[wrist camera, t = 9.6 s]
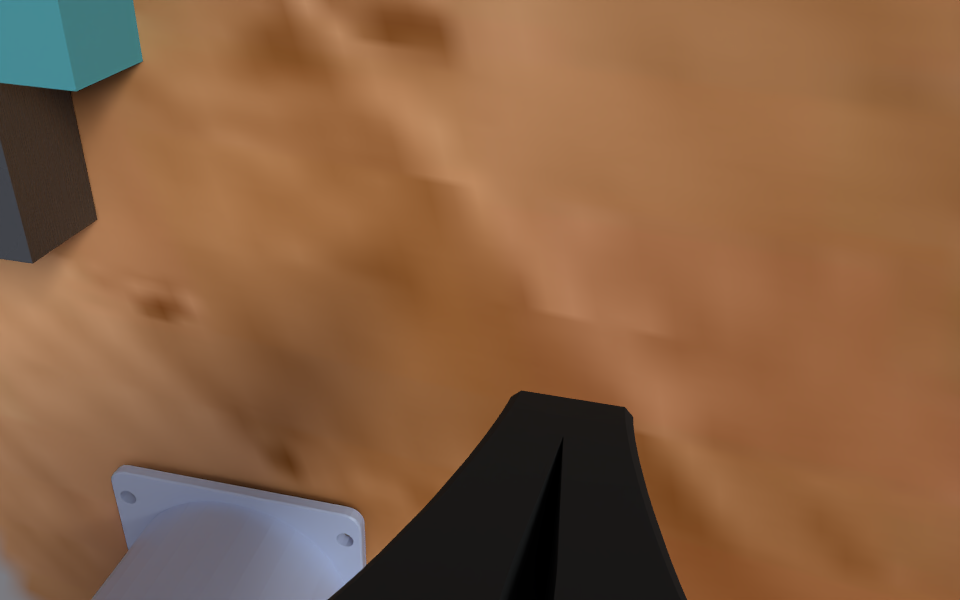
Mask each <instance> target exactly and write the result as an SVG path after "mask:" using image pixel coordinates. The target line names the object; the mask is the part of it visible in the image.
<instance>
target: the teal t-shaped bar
mask: <svg viewBox="0 0 960 600" xmlns="http://www.w3.org/2000/svg"><path fill="white" fill-rule="evenodd" d="M142 61H143V60H142V53H141V47H140V41H139V35H138V29H137V23H136V17H135V11H134V5H133V0H0V83H6V84H15V85H24V86H33V87H42V88H51V89H60V90H68V91H78V90H81V89H83V88H85V87H87V86H89V85H92V84H94V83H96V82H98V81H100V80H103V79H105V78H107V77H109V76H111V75H114V74H116V73H118V72H120V71H122V70H125V69H127V68H129V67H131V66H133V65H136V64H138V63H140V62H142Z"/></svg>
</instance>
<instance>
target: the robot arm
mask: <svg viewBox="0 0 960 600" xmlns="http://www.w3.org/2000/svg"><path fill="white" fill-rule="evenodd" d="M111 481H112V485H113V490H114V494H115V498H116V502H117V506H118V510H119V514H120V518H121V522H122V526H123V530H124V535H125V539H126V543H127V547H128V552H127V553H126V554H125V556H124V557H123V558H122V560H121V561H120V562H119V564H118V565H117V566H116V567H115V569H114V570H113V571H112V573H111V574H110V575H109V577H108V578H107V579H106V581H105V582H104V583H103V585H102V586H101V587H100V589H99V590H98V591H97V592H96V594H95V595H94V596H93V598H92V599H91V600H687V599H686V596H685V594H684V592H683V589H682V587H681V585H680V582H679V580H678V577H677V575H676V572H675V570H674V567H673V564H672V562H671V559H670V557H669V554H668V551H667V548H666V545H665V543H664V540H663V537H662V534H661V531H660V528H659V525H658V523H657V520H656V517H655V514H654V511H653V508H652V505H651V502H650V498H649V495H648V492H647V488H646V484H645V481H644V477H643V473H642V469H641V466H640V461H639V457H638V452H637V447H636V442H635V435H634V427H633V417H632V415H631V414H630V413H629V412H628V410H627V409H626V408H625V407H620V406H614V405H608V404H601V403H595V402H589V401H583V400H577V399H570V398H564V397H558V396H552V395H546V394H539V393H533V392H527V391H520V392H518V393H517V394H515V395H513V396H512V397H511V398H510V400H509V401H508V403H507V405H506V406H505V408H504V410H503V411H502V413H501V414H500V415H499V417H498V418H497V420H496V421H495V423H494V424H493V426H492V427H491V428H490V430H489V431H488V432H487V434H486V435H485V436H484V438H483V439H482V440H481V442H480V443H479V444H478V445H477V447H476V448H475V449H474V450H473V452H472V453H471V454H470V456H469V457H468V458H467V459H466V460H465V462H464V463H463V464H462V465H461V466H460V467H459V469H458V470H457V471H456V472H455V473H454V474H453V476H452V477H451V478H450V479H449V480H448V481H447V482H446V484H445V485H444V486H443V487H442V488H441V489H440V491H439V492H438V493H437V494H436V495H435V496H434V497H433V499H432V500H431V501H430V502H429V503H428V504H427V505H426V506H425V507H424V508H423V509H422V510H421V511H420V512H419V513H418V514H417V516H416V517H415V518H414V519H413V520H412V521H411V522H410V523H409V524H408V525H407V526H406V527H405V528H404V529H403V530H402V531H401V532H400V533H399V534H398V535H397V536H396V537H395V538H394V539H393V540H392V541H391V542H390V543H389V544H388V545H387V546H386V547H385V548H384V549H383V550H382V551H381V552H380V553H379V554H378V555H377V556H376V557H375V558H374V559H372V560H371V561H370V562H369V563H368V564H367V565H366V545H365V522H364V519H363V517H362V515H361V514H360V513H359V512H358V511H357V510H355V509H353V508H350V507H347V506H341V505H336V504H331V503H326V502H320V501H315V500H310V499H305V498H299V497H294V496H289V495H284V494H278V493H273V492H268V491H263V490H257V489H252V488H247V487H242V486H236V485H231V484H226V483H221V482H215V481H210V480H205V479H199V478H194V477H189V476H184V475H178V474H173V473H168V472H163V471H157V470H152V469H147V468H142V467H136V466H131V465H122V466H120V467H119V468H118V469H117V470H116V471H115V472H114V474H113V475H112V477H111ZM344 533H345V534H347V535H349V536H350V537H349V536H347V535H345V534H344Z"/></svg>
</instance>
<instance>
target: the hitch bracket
mask: <svg viewBox="0 0 960 600" xmlns="http://www.w3.org/2000/svg"><path fill="white" fill-rule="evenodd" d="M95 220H97V216H96V212H95V207H94V202H93V197H92V193H91V188H90V183H89V178H88V174H87V169H86V164H85V159H84V155H83V150H82V145H81V141H80V136H79V131H78V126H77V122H76V117H75V112H74V107H73V103H72V98H71V93H70V91H68V90H60V89H51V88H42V87H33V86H24V85H15V84H6V83H0V259H6V260H12V261H19V262H26V263H32V264H33V263H34V262H36V261H37V260H39V259H40V258H42V257H43V256H44V255H46V254H47V253H49V252H50V251H52V250H53V249H55V248H56V247H58V246H59V245H60V244H62V243H63V242H65V241H66V240H68V239H69V238H71V237H72V236H74V235H75V234H76V233H78V232H79V231H81V230H82V229H84V228H85V227H87V226H88V225H90V224H91V223H92V222H94V221H95Z"/></svg>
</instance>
